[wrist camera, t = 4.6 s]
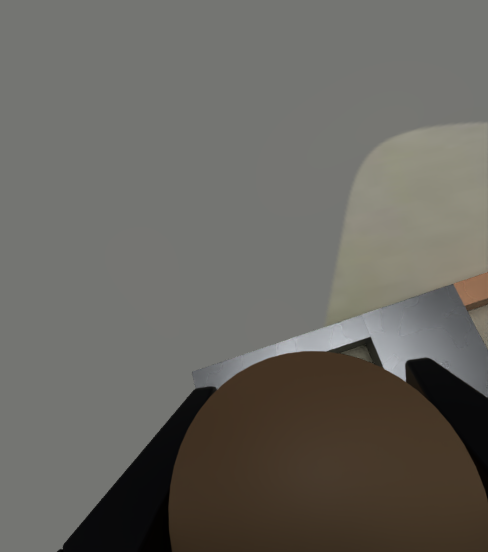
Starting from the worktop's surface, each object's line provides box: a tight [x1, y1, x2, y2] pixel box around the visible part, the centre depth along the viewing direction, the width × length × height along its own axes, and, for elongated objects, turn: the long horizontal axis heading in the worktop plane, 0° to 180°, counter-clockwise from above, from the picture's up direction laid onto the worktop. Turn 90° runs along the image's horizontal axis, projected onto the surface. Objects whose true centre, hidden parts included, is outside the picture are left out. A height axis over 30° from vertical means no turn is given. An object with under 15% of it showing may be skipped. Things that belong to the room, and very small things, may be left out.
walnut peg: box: [169, 351, 488, 552], centre depth 9 cm, size 4×4×10 cm
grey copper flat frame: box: [192, 272, 488, 397], centre depth 16 cm, size 8×20×2 cm, turn 107°
